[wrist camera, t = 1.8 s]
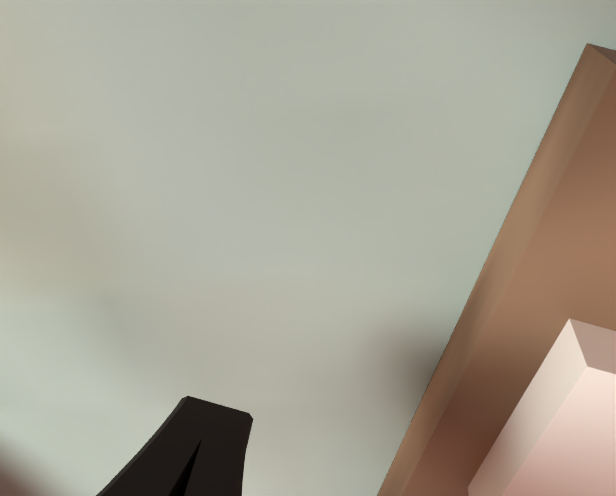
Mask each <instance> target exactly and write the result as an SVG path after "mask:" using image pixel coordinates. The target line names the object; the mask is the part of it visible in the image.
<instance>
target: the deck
mask: <svg viewBox="0 0 616 496" xmlns="http://www.w3.org/2000/svg"><path fill="white" fill-rule="evenodd" d="M569 318H570V319H573V320H577V321H581V322H584V323H588V324H592V325H595V326H599V327H602V328H606V329H610V330H613V331H616V51H615V50H611V49H607V48H603V47H599V46H595V45H592V44H588V43H587V44H586V46H585V49H584V51H583V53H582V55H581V57H580V59H579V62H578V64H577V66H576V68H575V70H574V72H573V74H572V77H571V79H570V81H569V83H568V85H567V87H566V90H565V92H564V94H563V96H562V98H561V100H560V102H559V105H558V107H557V109H556V111H555V113H554V115H553V118H552V120H551V122H550V124H549V126H548V128H547V131H546V133H545V135H544V137H543V139H542V141H541V143H540V146H539V148H538V150H537V152H536V154H535V156H534V159H533V161H532V163H531V165H530V167H529V169H528V172H527V174H526V176H525V178H524V180H523V182H522V184H521V187H520V189H519V191H518V193H517V195H516V197H515V200H514V202H513V204H512V206H511V208H510V210H509V212H508V215H507V217H506V219H505V221H504V223H503V225H502V228H501V230H500V232H499V234H498V236H497V238H496V241H495V243H494V245H493V247H492V249H491V251H490V253H489V256H488V258H487V260H486V262H485V264H484V266H483V269H482V271H481V273H480V275H479V277H478V279H477V282H476V284H475V286H474V288H473V290H472V292H471V294H470V297H469V299H468V301H467V303H466V305H465V307H464V310H463V312H462V314H461V316H460V318H459V320H458V322H457V325H456V327H455V329H454V331H453V333H452V335H451V338H450V340H449V342H448V344H447V346H446V348H445V351H444V353H443V355H442V357H441V359H440V361H439V363H438V366H437V368H436V370H435V372H434V374H433V376H432V379H431V381H430V383H429V385H428V387H427V389H426V392H425V394H424V396H423V398H422V400H421V402H420V404H419V407H418V409H417V411H416V413H415V415H414V417H413V420H412V422H411V424H410V426H409V428H408V430H407V432H406V435H405V437H404V439H403V441H402V443H401V445H400V448H399V450H398V452H397V454H396V456H395V458H394V461H393V463H392V465H391V467H390V469H389V471H388V473H387V476H386V478H385V480H384V482H383V484H382V486H381V489H380V491H379V493H378V495H377V496H469V494H468V486H469V484H470V483H471V481H472V479H473V478H474V476H475V474H476V473H477V471H478V469H479V468H480V466H481V464H482V463H483V461H484V459H485V458H486V456H487V454H488V453H489V451H490V449H491V448H492V446H493V444H494V443H495V441H496V439H497V438H498V436H499V434H500V433H501V431H502V429H503V428H504V426H505V424H506V423H507V421H508V419H509V418H510V416H511V414H512V413H513V411H514V409H515V408H516V406H517V404H518V403H519V401H520V399H521V398H522V396H523V394H524V393H525V391H526V389H527V388H528V386H529V384H530V383H531V381H532V379H533V378H534V376H535V375H536V373H537V371H538V370H539V368H540V366H541V365H542V363H543V361H544V360H545V358H546V356H547V355H548V353H549V351H550V350H551V348H552V346H553V345H554V343H555V341H556V340H557V338H558V336H559V335H560V333H561V331H562V330H563V328H564V326H565V325H566V323H567V321H568V320H569Z"/></svg>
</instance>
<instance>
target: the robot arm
mask: <svg viewBox="0 0 616 496" xmlns="http://www.w3.org/2000/svg"><path fill="white" fill-rule="evenodd" d="M252 422H253V418H252V417H251V415H250V414H249V413H246V412H243V411H239V410H236V409H232V408H229V407H225V406H222V405H218V404H215V403H211V402H208V401H204V400H201V399H197V398H194V397H190V396H187V397H184V398H182V399H181V401H180V402H179V403H178V405H177V406H176V408H175V409H174V410H173V412H172V413H171V414H170V415H169V417H168V418H167V419H166V420H165V422H164V423H163V424H162V425H161V427H160V428H159V429H158V430H157V431H156V432H155V434H154V435H153V436H152V437H151V438H150V439H149V441H148V442H147V443H146V444H145V445H144V446H143V447H142V448H141V450H140V451H139V452H138V453H137V454H136V455H135V456H134V457H133V458H132V459H131V460H130V461H129V462H128V464H127V465H126V466H125V467H124V468H123V469H122V470H121V471H120V472H119V473H118V474H117V475H116V476H115V477H114V478H113V479H112V480H111V481H110V483H109V484H108V485H107V486H106V487H105V488H104V489H103V490H102V491H101V492H100V493H99V494H97V495H96V496H242V481H243V470H244V460H245V453H246V448H247V444H248V439H249V435H250V431H251V427H252Z"/></svg>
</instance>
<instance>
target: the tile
mask: <svg viewBox="0 0 616 496" xmlns="http://www.w3.org/2000/svg"><path fill="white" fill-rule="evenodd" d="M468 494H469V496H616V331H613V330H610V329H606V328H602V327H599V326H595V325H592V324H588V323H584V322H581V321H577V320H573V319H570V318H569V320H568V321H567V323H566V325H565V326H564V328H563V330H562V331H561V333H560V335H559V336H558V338H557V340H556V341H555V343H554V345H553V346H552V348H551V350H550V351H549V353H548V355H547V356H546V358H545V360H544V361H543V363H542V365H541V366H540V368H539V370H538V371H537V373H536V375H535V376H534V378H533V379H532V381H531V383H530V384H529V386H528V388H527V389H526V391H525V393H524V394H523V396H522V398H521V399H520V401H519V403H518V404H517V406H516V408H515V409H514V411H513V413H512V414H511V416H510V418H509V419H508V421H507V423H506V424H505V426H504V428H503V429H502V431H501V433H500V434H499V436H498V438H497V439H496V441H495V443H494V444H493V446H492V448H491V449H490V451H489V453H488V454H487V456H486V458H485V459H484V461H483V463H482V464H481V466H480V468H479V469H478V471H477V473H476V474H475V476H474V478H473V479H472V481H471V483H470V484H469V486H468Z"/></svg>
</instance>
